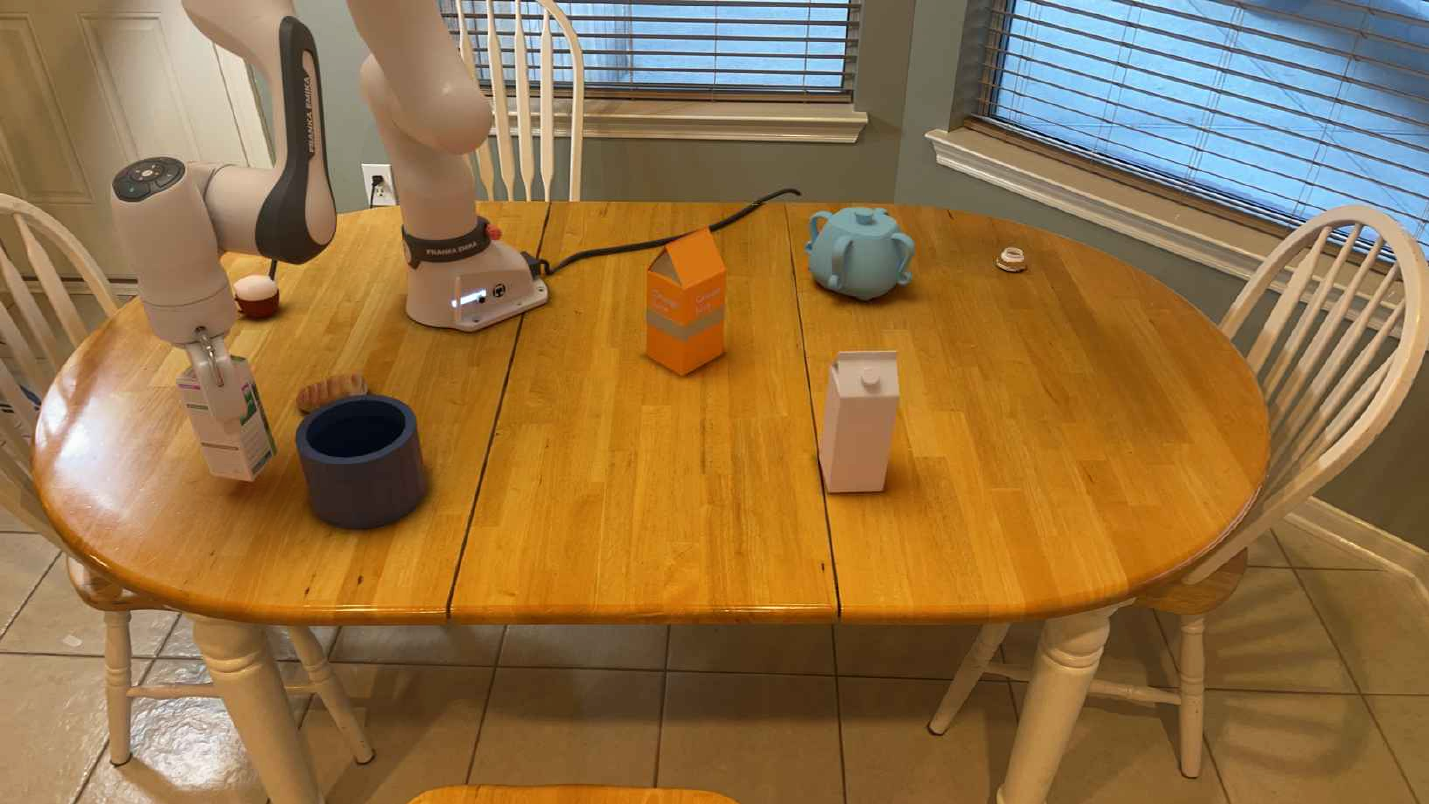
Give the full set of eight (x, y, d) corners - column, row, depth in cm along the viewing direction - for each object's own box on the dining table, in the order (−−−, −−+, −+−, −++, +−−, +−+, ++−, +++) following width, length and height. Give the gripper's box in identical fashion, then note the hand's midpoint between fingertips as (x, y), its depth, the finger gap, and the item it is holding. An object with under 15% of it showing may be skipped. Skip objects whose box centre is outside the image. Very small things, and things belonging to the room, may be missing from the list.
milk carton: (818, 458, 134) (833, 336, 123) (871, 457, 135) (890, 335, 124) (827, 493, 129) (844, 368, 118) (882, 492, 129) (904, 367, 118)
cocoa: (230, 325, 156) (210, 255, 149) (235, 304, 161) (216, 236, 154) (295, 319, 158) (279, 250, 151) (299, 299, 163) (283, 231, 156)
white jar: (1023, 261, 182) (994, 258, 183) (1026, 246, 181) (998, 243, 181) (1026, 274, 178) (997, 271, 179) (1029, 259, 177) (1000, 256, 177)
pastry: (297, 422, 137) (291, 399, 135) (298, 395, 142) (292, 372, 140) (370, 411, 139) (365, 388, 137) (368, 385, 145) (363, 362, 142)
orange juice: (723, 354, 154) (729, 234, 143) (682, 376, 149) (684, 254, 137) (686, 334, 158) (689, 216, 147) (645, 355, 153) (644, 235, 141)
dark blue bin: (405, 445, 134) (394, 383, 128) (442, 504, 124) (432, 440, 119) (299, 479, 127) (282, 414, 122) (329, 544, 118) (313, 478, 112)
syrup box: (253, 483, 121) (220, 384, 113) (208, 476, 122) (172, 377, 114) (278, 453, 126) (249, 356, 117) (235, 446, 127) (203, 350, 118)
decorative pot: (890, 260, 181) (901, 189, 173) (913, 306, 168) (926, 230, 160) (800, 262, 180) (807, 190, 172) (816, 307, 166) (824, 232, 159)
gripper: (243, 345, 105) (274, 449, 114) (203, 263, 119) (234, 361, 127) (178, 363, 103) (215, 468, 111) (145, 276, 116) (180, 376, 125)
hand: (224, 410), depth 119 cm, fingers closed on syrup box, 7 cm apart
